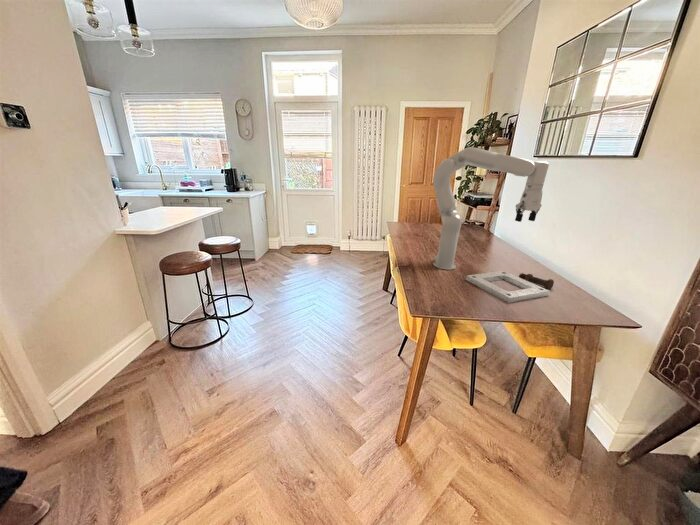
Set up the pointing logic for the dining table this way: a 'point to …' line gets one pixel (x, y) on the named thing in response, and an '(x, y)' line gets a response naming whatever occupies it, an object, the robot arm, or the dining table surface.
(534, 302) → the dining table surface
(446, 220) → the robot arm
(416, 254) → the dining table surface
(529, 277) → the bolt
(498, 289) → the plate
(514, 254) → the dining table surface
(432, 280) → the dining table surface
